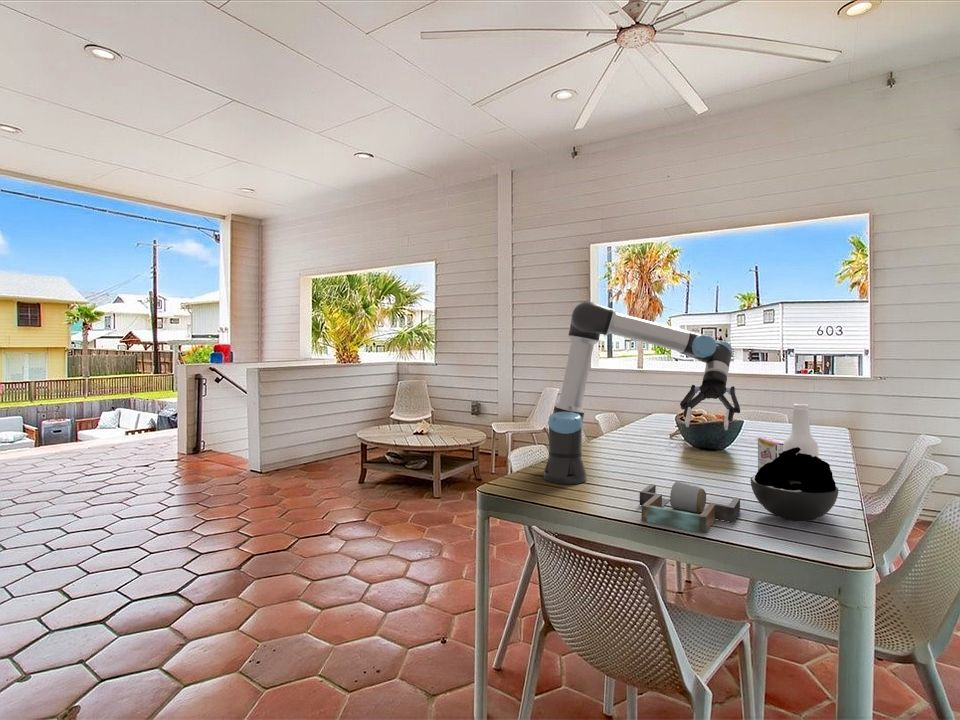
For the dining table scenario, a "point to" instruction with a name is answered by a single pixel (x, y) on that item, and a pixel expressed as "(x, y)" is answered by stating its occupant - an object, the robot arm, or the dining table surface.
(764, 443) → the candy bar box
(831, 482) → the bowl of black rocks
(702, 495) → the grey cylinder
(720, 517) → the box
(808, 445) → the alcohol
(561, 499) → the dining table surface
